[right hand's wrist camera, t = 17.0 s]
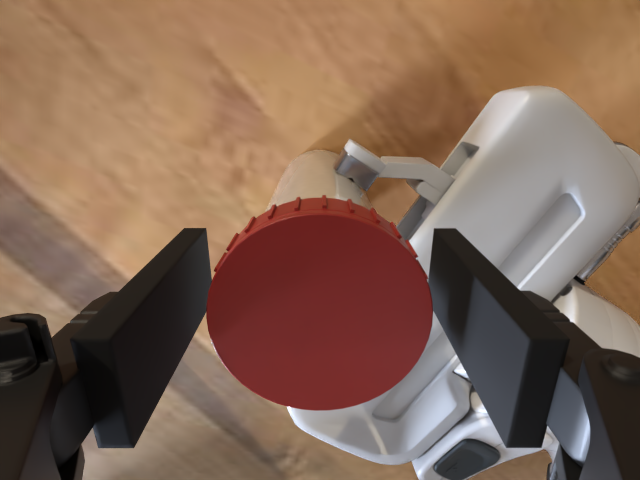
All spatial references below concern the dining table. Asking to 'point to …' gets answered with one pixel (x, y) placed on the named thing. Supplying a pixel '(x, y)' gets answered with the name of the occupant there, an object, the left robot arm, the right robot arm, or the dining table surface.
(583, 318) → the left robot arm
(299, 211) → the lid
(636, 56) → the dining table surface
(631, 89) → the dining table surface
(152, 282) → the right robot arm
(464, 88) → the dining table surface
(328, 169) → the jar
